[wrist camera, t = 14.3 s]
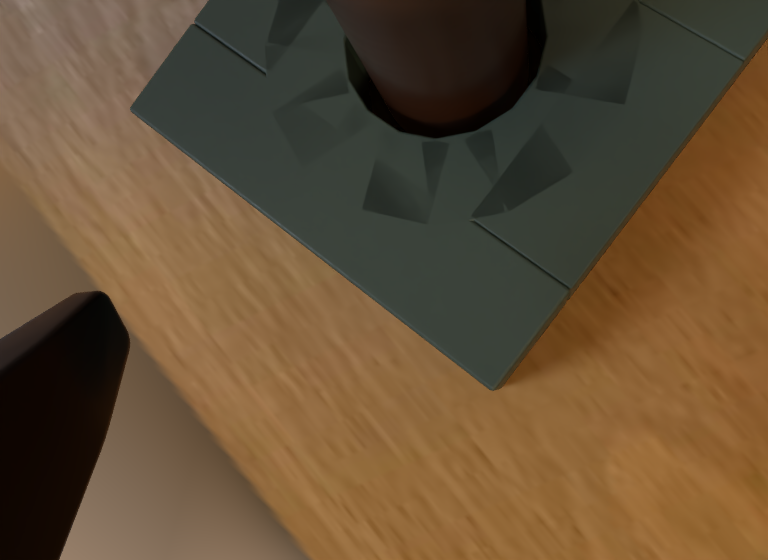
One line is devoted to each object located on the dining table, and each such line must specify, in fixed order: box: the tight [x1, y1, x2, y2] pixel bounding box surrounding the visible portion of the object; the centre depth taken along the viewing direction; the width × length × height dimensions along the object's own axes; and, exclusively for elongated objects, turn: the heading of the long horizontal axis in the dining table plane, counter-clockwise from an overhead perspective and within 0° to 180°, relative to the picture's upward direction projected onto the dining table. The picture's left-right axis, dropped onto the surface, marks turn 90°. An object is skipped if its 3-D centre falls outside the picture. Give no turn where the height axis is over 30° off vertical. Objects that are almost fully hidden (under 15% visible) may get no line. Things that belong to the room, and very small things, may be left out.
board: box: [130, 0, 768, 391], centre depth 18 cm, size 12×12×2 cm
